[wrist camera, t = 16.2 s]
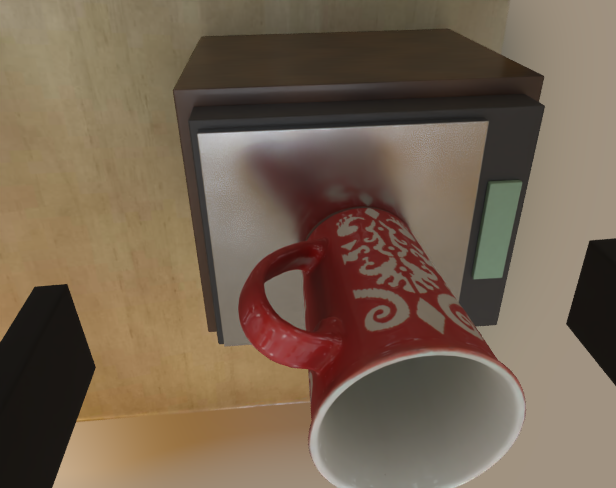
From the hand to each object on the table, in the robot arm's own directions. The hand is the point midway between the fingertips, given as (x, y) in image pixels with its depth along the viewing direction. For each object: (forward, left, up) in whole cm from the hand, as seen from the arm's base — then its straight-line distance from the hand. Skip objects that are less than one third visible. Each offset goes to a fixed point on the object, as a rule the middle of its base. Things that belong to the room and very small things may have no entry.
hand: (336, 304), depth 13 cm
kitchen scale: (-4, +8, -20) cm, 22 cm away
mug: (-2, +8, -17) cm, 19 cm away
